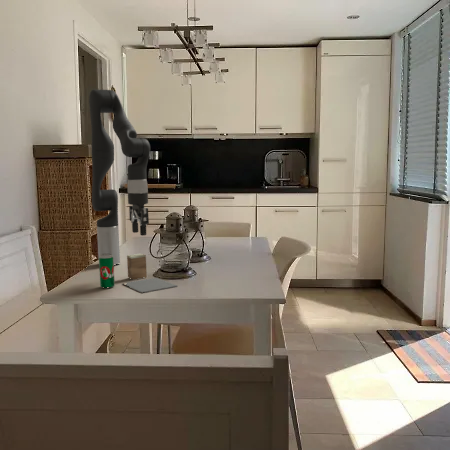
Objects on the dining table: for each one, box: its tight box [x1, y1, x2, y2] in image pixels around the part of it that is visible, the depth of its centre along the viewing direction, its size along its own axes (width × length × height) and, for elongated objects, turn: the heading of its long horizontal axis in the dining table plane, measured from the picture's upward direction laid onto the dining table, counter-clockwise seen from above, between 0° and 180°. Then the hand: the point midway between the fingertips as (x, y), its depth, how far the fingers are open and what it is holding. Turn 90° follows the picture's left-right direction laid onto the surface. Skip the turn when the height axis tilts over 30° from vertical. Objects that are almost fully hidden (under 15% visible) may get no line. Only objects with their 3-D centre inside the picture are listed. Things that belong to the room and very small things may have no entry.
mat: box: [126, 277, 178, 293], centre depth 174 cm, size 16×14×1 cm
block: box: [126, 253, 148, 280], centre depth 186 cm, size 4×6×9 cm, turn 126°
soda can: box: [98, 253, 116, 289], centre depth 172 cm, size 5×5×12 cm
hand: (139, 233), depth 184 cm, fingers open, 8 cm apart
